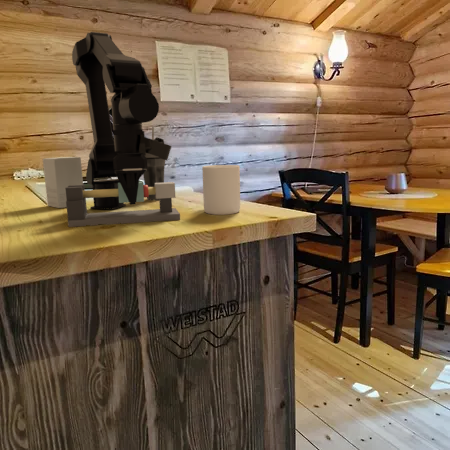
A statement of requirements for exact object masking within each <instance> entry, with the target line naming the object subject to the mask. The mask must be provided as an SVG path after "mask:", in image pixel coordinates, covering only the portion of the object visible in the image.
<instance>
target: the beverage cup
mask: <svg viewBox="0 0 450 450" xmlns="http://www.w3.org/2000/svg"><path fill="white" fill-rule="evenodd" d="M154 127H155V126H152V127H151V133H152V134H151V139H152V140H154V139H155V130H154V129H155V128H154ZM144 156H145V157H146V158H147V166H148V168H143V169H147V171H146V172H145V173H144V174H143V175H142V176H143V182H144V183H143V184H144V185H148V187H155V183H164V182H165V166H166V160H164V159H161V158H159V157H158V156H154V155H151V154H148V153H146V155H144ZM146 200H147V201H159V199H156V197H155V194H154V195H149V197H146Z"/></svg>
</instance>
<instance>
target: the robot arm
mask: <svg viewBox="0 0 450 450" xmlns="http://www.w3.org/2000/svg"><path fill="white" fill-rule="evenodd" d="M71 59H72V64H73V66H74V67H75V70H76V75H77V77H78V78H79V79H80V80H81V82H82V83H83V84H84V85H85V90H86V98H87V104H88V105H87V106H88V110H89V111H88V112H89V117H90V124H91V131H92V132H91V133H92V136H93V137H92V138H93V146H92V148H91V150H90V152H89V155H88V157H89V159H88V162H87V167H86V174H85V177H86V182H87V184H88V185H91V186H92V190H102V189H118V183H120V184H121V186H122V188H123V190H124V192H125V194H126V196H127V198H128V201H129V202H128V203H129V204H130V205H133V206H134V205H136V204H137V202H136V200H137V192H138V185H139V182H140V178H141V177H142V176H143V174H144V173H145V172H146V171H147V169H143V168H148V166H147V158H146V157H145V156H144V155H146V153H148V154H151V155H154V156H158V157H159V158H161V159H164V160H165V161H168V160H169V159H168V158H169V156H170V153H171V149H172V145H170V144H167V143H165V141H164V138H161V137H159V136H156V137H154V140H152V138H149V137H146V136H145V130H143V124H144V123H150V122H152V121H154V120H155V119H156V118H157V116H158V114H159V111H160V104H159V102H158V99H157V98H156V96H155V95H154V94H153V93H152V92H153V89H152V86H153V85H152V83H151V80H150V79H149V77H148V75H147V73H146V70H145V67H144V66H143V65H142V62H141V61H140V60H138V59H137V58H135V57H132V56H129V55H125V54H124V53H123V52H122V51H121V50H120V48H119V47H118V46H117V45H116V43H115V42H114V41H113V38H112V36H111V34H108V33H106V32H100V31H99V32H97V31H90V32H87V33H86V35H85V37H83V38H82V39H80V40H78V41H76V42H75V43H74V45H73V48H72V52H71ZM106 89H108V91H109V93H112V94H113V93H114V94H113V96H111V98H110V102H111V115H112V123H111V116H110V109H109V103H108V95H107V90H106ZM92 199H93V206H90V210H115V209H118V208H122V207H126V205H127V203H119V196H117V197H98V198H92Z"/></svg>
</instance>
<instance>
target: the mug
mask: <svg viewBox="0 0 450 450" xmlns="http://www.w3.org/2000/svg"><path fill="white" fill-rule="evenodd" d="M201 168H202V169H201V171H202V187H203V188H202V194H203V210H204V212H205V213H206V214H209V215H215V216H217V215H219V216H220V215H221V216H225V215H233V214H234V215H235V214H237V213H239V212H240V210H241V179H240V178H241V177H240V176H241V174H240V172H241V171H240V165H239V164H238V165H237V164H217V165H215V164H214V165H213V164H212V165H203V166H201Z"/></svg>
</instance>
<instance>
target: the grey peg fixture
mask: <svg viewBox="0 0 450 450" xmlns="http://www.w3.org/2000/svg"><path fill="white" fill-rule="evenodd" d="M65 189H66V199H67V201H66V206H67V207H66V213H67V214H66V215H67V226H68V228H71V227H72V228H73V227H86V225H90V226H99V225H98V224H106V225H117V224H118V225H119V224H120V223H121V224H132V223H135V224H137V223H146V222H147V223H148V222H149V223H150V222H163V221H178V220H179V221H180V220H181V214H180V212H179V211H178V209H177V208H176V207H174V208H173V204H172V202H173V201H172V199H175V198H176V183H175V182H174V181H169V182H165V181H164V183H155V187H148V185H145V184H143V192H144V198H147V197H149V195H154V194H155V197H156V199H159V200H158V202H159V208H156V209H140V210H137V209H136V210H122V211H108V212H105V211H104V212H89V213H88V209H87V199H93V198H98V197H117V196H119V193H118V189H102V190H93V189H88V190H87V189H85V184H83V185H69V186H68V187H66V188H65Z"/></svg>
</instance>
